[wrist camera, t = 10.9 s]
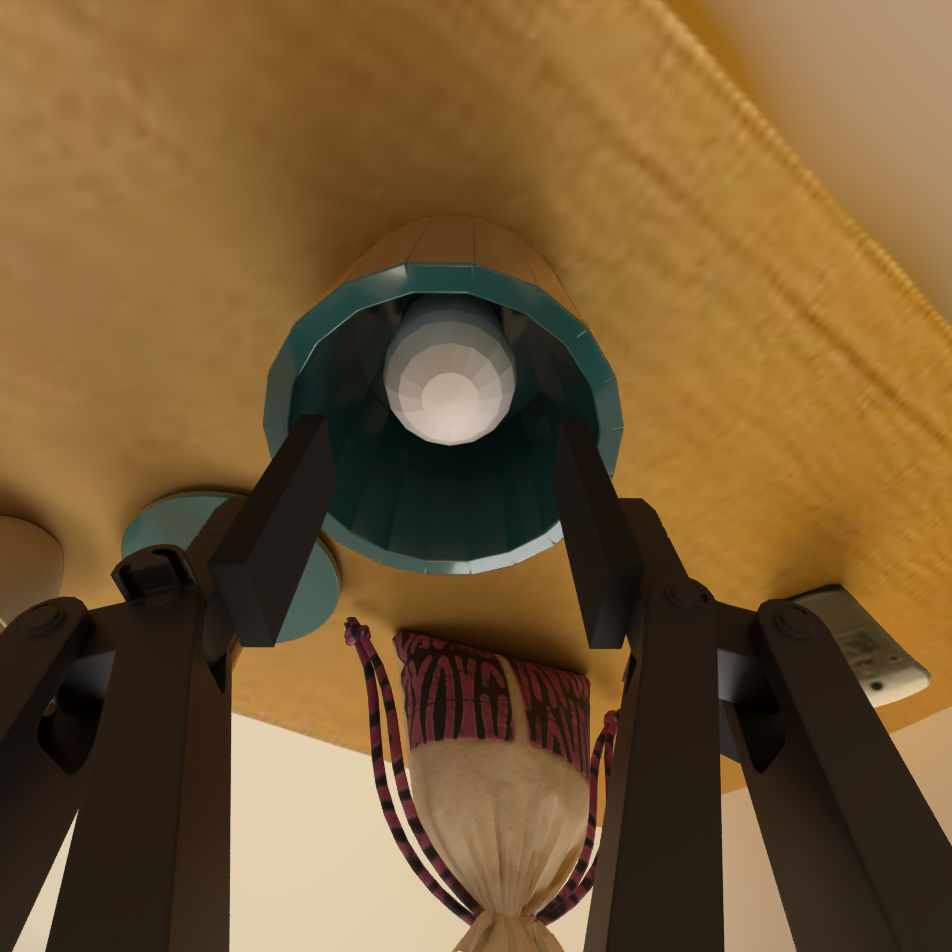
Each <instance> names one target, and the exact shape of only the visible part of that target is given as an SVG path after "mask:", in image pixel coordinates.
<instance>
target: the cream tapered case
mask: <svg viewBox="0 0 952 952" xmlns="http://www.w3.org/2000/svg"><path fill="white" fill-rule="evenodd" d="M787 601H791V602H795V603H797V604H799V605H801V606H803V607H805V608H808V609H809V610H810V611H812V612H813V613H814V614H816V615H817V616H818V617H820V618H821V619H822V621H823V622H824V623H825V624H826V626H827V627H828V628H829V630H830V632H831V634H832V635H833V637H834V639H835V641H836V642H837V644H838V646H839V648H840V649H841V651H842V653H843V655H844V657H845V658H846V660H847V662H848V664H849V665H850V667H851V669H852V671H853V672H854V674H855V676H856V678H857V680H858V681H859V683H860V685H861V687H862V688H863V690H864V692H865V694H866V695H867V697H868V699H869V701H870V703H871V704H872V706H873V708H874V707H878V706H882V705H885V704H888V703H892V702H894V701H897V700H901V699H903V698H905V697H908V696H910V695H912V694H915V693H917V692H919V691H921V690H922V689H924V688H926V687H927V686H928V685H929V684H930V682H931V674H930V673H929V672H928V671H927V669H925V668H924V667H923V666H922V665H921V664H920V663H918V662H917V661H915V660H914V659H913V658H912V657H911V656H910V655H909V654H908V653H907V652H906V651H905V650H904V649H903V648H902V647H901V646H900V645H899V644H898V643H897V642H896V641H895V640H894V639H893V638H892V637H891V636H890V635H889V634H888V633H887V632H886V631H885V630H884V629H883V628H882V627H881V626H880V625H879V624H878V623H877V622H876V621H875V619H874V618H873V617H872V616H871V615H870V614H869V613H868V612H867V611H866V610H865V609H864V608H863V607H862V606H861V605H860V604H859V603H858V601H857V600H856V599H855V598H854V597H853V596H852V595H851V594H850V593H849V592H848V591H847V590H846V589H845V588H843V587H842V586H841V585H827V586H824V587H821V588H819V589H816V590H814V591H810V592H808V593H804V594H802V595H799V596H796V597H793V598H790V599H787Z"/></svg>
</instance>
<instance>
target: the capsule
mask: <svg viewBox="0 0 952 952" xmlns="http://www.w3.org/2000/svg"><path fill="white" fill-rule="evenodd" d="M383 380H384V384H385V388H386V392H387V395H388V399H389V403H390V407H391V410H392V411H393V412H394V414H395V415H396V416H397V418H398V419H399V420H400V422H401V423H402V424H403V426H404V427H405V428H406V429H407V430H409V431H411V432H412V433H414V434H415V435H417V436H419V437H420V438H422V439H424V440H425V441H428V442H433V443H438V444H443V445H449V446H451V445H457V444H463V443H469V442H474V441H476V440H477V439H479V438H481V437H483V436H484V435H486V434H488V433H489V432H491V431H493V430H494V429H495V428H496V427H497V425H498V424H499V423H500V422H501V420H502V419H503V418H504V417H505V415H506V414H507V413H508V411H509V408H510V404H511V401H512V397H513V394H514V390H515V387H516V383H517V374H516V366H515V358H514V353H513V351H512V348H511V346H510V344H509V341H508V339H507V336H506V334H505V331H504V329H503V326H502V324H501V323H500V321H499V319H498V317H497V316H496V314H495V312H494V310H493V309H492V307H491V306H490V305H489V304H488V303H486V302H485V301H484V300H482V299H481V298H479V297H477V296H474V295H471V294H445V293H426V294H425V295H423V296H422V297H420V298H419V299H417V300H416V301H414V302H413V303H411V305H410V306H409V308H408V310H407V311H406V313H405V314H404V316H403V318H402V319H401V321H400V323H399V325H398V327H397V329H396V332H395V334H394V336H393V338H392V341H391V343H390V345H389V347H388V350H387V353H386V360H385V366H384V373H383Z"/></svg>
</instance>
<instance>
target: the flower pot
mask: <svg viewBox="0 0 952 952" xmlns="http://www.w3.org/2000/svg"><path fill="white" fill-rule="evenodd" d="M63 570H64V555H63V551H62V549H61V547H60V545H59V544H58V543H57V541H56V540H55V539H54V538H53V537H52V536H51V535H50V534H49V533H47V532H46V531H44V530H43V529H41V528H40V527H38V526H36V525H34V524H32V523H30V522H27V521H25V520H22V519H19V518H14V517H9V516H0V634H1V633H2V632H3V630H4V629H5V628H6V627H7V625H8V624H9V623H11V622H12V621H13V620H14V619H15V618H16V617H17V616H18V615H19V614H21V613H22V612H24V611H25V610H27V609H29V608H30V607H32V606H34V605H36V604H39V603H41V602H44V601H46V600H49V599H54V598H58V597H59V594H60V590H61V585H62V579H63Z"/></svg>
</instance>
